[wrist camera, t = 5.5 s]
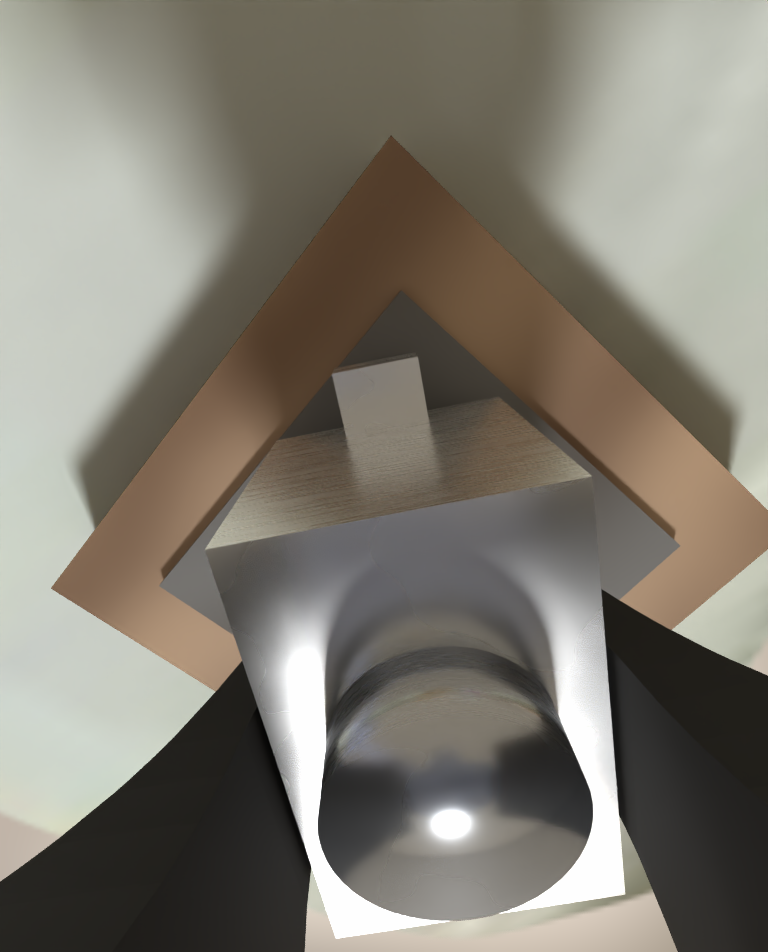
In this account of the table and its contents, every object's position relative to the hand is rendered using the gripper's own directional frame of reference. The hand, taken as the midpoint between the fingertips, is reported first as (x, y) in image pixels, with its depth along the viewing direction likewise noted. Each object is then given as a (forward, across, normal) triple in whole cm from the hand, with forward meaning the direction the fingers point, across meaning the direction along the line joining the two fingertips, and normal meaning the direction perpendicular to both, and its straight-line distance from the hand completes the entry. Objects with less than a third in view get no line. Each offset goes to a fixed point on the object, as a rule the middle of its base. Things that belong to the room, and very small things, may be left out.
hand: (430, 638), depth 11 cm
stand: (+6, 0, 0) cm, 6 cm away
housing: (+2, 0, 0) cm, 2 cm away
